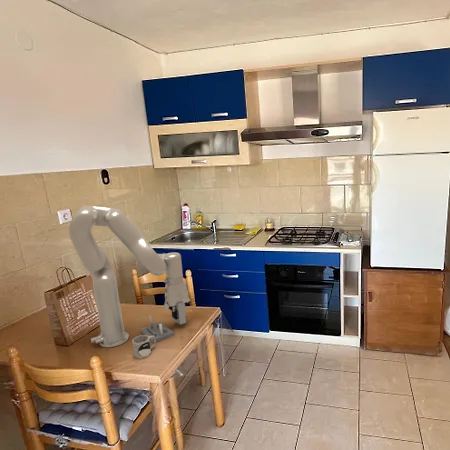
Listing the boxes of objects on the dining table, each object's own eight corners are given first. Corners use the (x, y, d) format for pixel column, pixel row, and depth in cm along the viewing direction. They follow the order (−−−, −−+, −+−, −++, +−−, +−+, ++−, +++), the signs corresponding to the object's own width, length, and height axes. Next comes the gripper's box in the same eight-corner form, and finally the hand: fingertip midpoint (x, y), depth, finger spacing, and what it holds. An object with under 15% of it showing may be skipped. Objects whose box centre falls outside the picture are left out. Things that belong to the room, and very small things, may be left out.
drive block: (185, 322, 167) (183, 302, 165) (179, 324, 166) (177, 303, 164) (178, 316, 174) (176, 297, 172) (172, 318, 172) (170, 298, 170)
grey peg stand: (174, 335, 161) (172, 321, 160) (152, 343, 156) (150, 329, 154) (161, 324, 172) (159, 312, 171) (141, 332, 167) (139, 318, 166)
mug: (140, 360, 143) (138, 345, 142) (131, 355, 148) (129, 340, 147) (161, 349, 150) (159, 334, 149) (151, 344, 155) (149, 330, 154)
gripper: (161, 286, 159) (165, 325, 162) (194, 277, 167) (197, 314, 171) (154, 282, 165) (159, 320, 168) (186, 273, 173) (190, 310, 177)
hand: (178, 317), depth 169 cm, fingers closed on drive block, 3 cm apart
